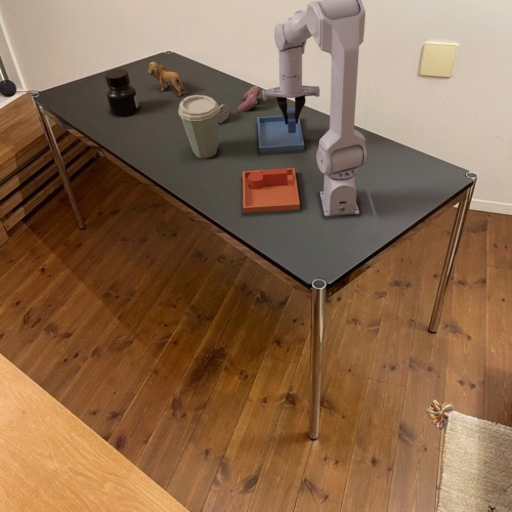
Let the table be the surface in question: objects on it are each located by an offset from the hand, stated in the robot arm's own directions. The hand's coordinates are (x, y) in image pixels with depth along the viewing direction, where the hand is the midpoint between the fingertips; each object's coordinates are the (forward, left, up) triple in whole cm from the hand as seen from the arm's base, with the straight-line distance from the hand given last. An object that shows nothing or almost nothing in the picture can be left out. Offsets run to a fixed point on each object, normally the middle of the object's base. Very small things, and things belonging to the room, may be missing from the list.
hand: (291, 122), depth 136 cm
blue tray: (+4, +3, -7) cm, 9 cm away
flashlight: (+19, +25, -7) cm, 32 cm away
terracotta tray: (-23, +7, -7) cm, 24 cm away
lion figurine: (+39, +38, -7) cm, 55 cm away
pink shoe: (+24, +11, -7) cm, 28 cm away
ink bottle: (+27, +51, -7) cm, 58 cm away
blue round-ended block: (+2, 0, -2) cm, 2 cm away
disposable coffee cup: (-2, +24, -7) cm, 25 cm away
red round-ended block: (-19, +7, -6) cm, 21 cm away
